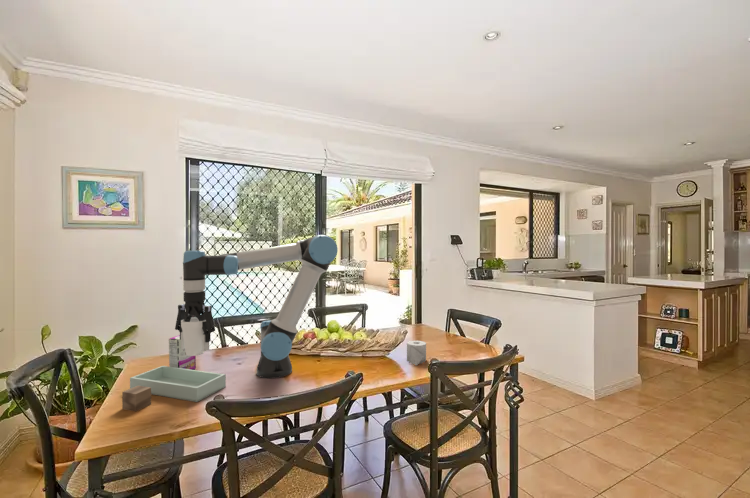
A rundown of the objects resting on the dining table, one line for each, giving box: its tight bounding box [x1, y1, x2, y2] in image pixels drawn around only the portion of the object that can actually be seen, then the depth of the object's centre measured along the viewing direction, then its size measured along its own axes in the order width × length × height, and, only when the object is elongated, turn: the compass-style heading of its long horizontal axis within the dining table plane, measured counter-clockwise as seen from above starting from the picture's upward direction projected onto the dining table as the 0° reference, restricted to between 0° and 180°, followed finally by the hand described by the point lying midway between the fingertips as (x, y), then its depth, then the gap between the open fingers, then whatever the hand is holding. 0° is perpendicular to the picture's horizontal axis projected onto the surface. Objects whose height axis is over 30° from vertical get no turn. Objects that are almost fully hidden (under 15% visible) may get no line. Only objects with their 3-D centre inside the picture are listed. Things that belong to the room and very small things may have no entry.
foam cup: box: [181, 316, 206, 356], centre depth 143 cm, size 10×9×13 cm
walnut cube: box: [121, 386, 152, 412], centre depth 131 cm, size 6×6×6 cm
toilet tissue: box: [406, 340, 427, 366], centre depth 182 cm, size 9×13×9 cm
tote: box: [129, 365, 227, 403], centre depth 147 cm, size 32×15×5 cm, turn 72°
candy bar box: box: [168, 334, 197, 370], centre depth 165 cm, size 11×5×16 cm, turn 168°
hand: (195, 349), depth 144 cm, fingers closed on foam cup, 9 cm apart
